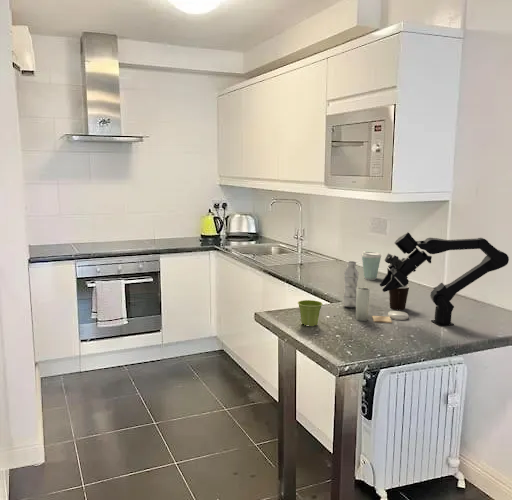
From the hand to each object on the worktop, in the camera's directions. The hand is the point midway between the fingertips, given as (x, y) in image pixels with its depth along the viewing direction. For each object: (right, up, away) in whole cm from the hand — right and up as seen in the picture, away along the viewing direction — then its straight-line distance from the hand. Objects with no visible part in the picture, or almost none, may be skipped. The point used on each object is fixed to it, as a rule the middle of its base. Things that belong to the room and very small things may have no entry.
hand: (381, 288), depth 206 cm
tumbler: (-7, -13, +3) cm, 15 cm away
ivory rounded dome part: (+8, -12, +6) cm, 16 cm away
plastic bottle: (-9, -10, +21) cm, 25 cm away
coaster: (+1, -13, +2) cm, 13 cm away
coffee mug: (+11, -11, +19) cm, 24 cm away
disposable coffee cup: (+13, -1, +81) cm, 82 cm away
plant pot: (-29, -14, -6) cm, 33 cm away
